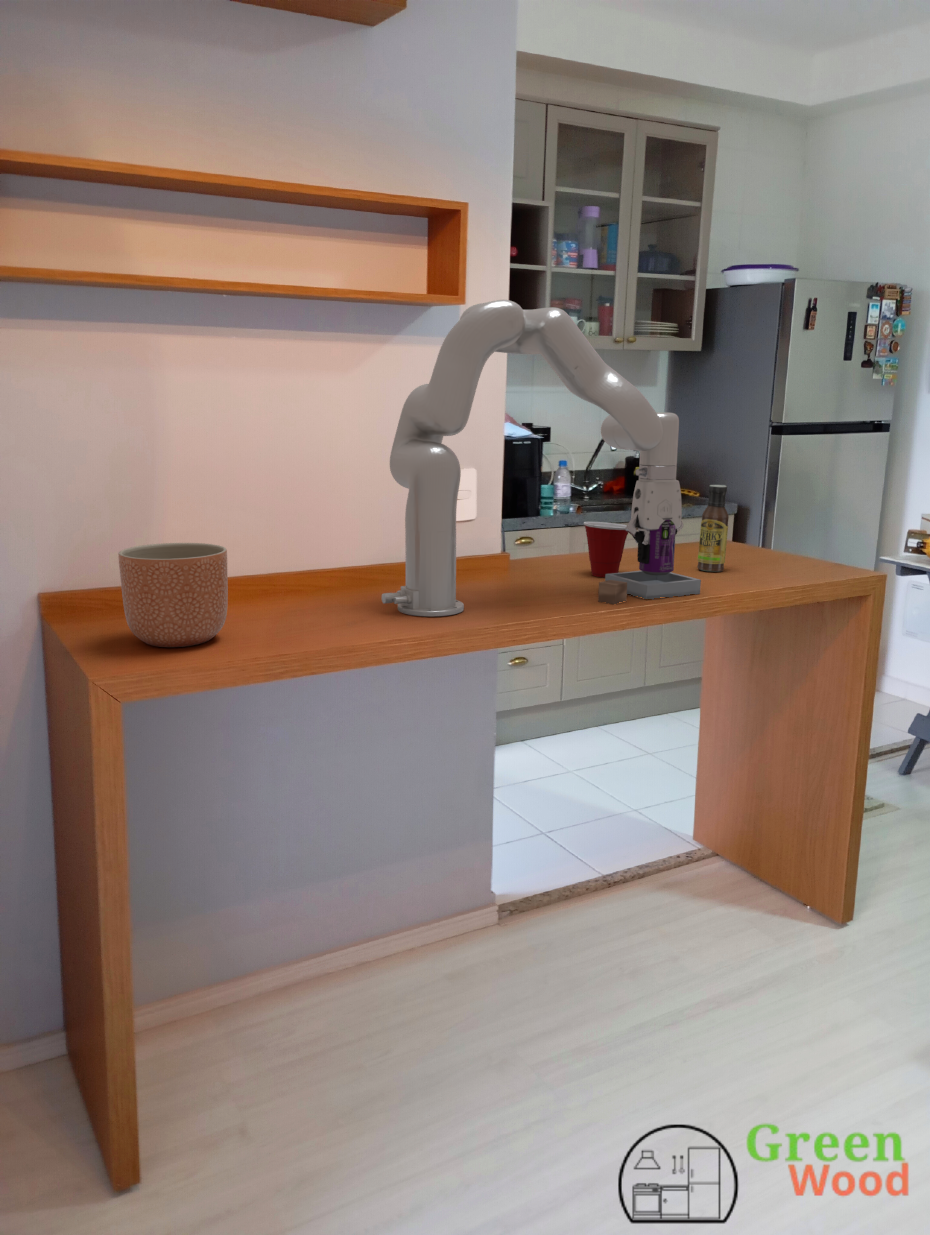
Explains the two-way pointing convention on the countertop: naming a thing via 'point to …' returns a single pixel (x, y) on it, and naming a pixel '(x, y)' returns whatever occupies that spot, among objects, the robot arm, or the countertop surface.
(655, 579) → the tray
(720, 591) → the countertop surface
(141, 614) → the planter
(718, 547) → the sauce bottle
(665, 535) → the beverage can
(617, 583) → the walnut block
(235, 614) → the countertop surface
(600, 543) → the plastic cup
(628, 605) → the countertop surface
